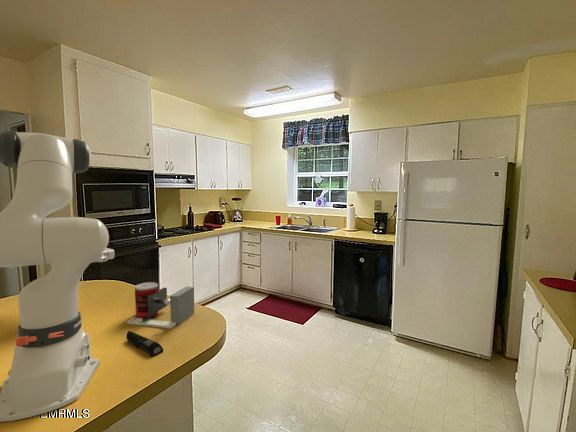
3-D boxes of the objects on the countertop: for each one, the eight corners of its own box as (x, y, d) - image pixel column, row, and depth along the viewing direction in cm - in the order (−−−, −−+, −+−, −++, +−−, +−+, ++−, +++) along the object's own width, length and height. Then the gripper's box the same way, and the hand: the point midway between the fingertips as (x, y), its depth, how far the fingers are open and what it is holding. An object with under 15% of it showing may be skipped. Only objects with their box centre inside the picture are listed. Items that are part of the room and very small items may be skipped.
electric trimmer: (135, 337, 92) (135, 327, 92) (164, 352, 83) (164, 341, 83) (123, 342, 89) (122, 332, 88) (152, 358, 80) (151, 347, 80)
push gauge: (127, 323, 101) (125, 295, 100) (152, 308, 113) (151, 283, 112) (173, 329, 96) (172, 299, 96) (194, 313, 109) (193, 287, 108)
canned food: (152, 308, 113) (151, 280, 112) (163, 313, 108) (162, 285, 107) (131, 314, 107) (130, 285, 106) (142, 320, 102) (140, 290, 101)
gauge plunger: (142, 321, 100) (141, 298, 99) (164, 307, 111) (163, 287, 111) (160, 323, 98) (159, 300, 97) (181, 309, 110) (180, 288, 109)
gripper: (47, 250, 102) (79, 254, 99) (98, 244, 122) (125, 247, 119) (46, 268, 102) (78, 273, 99) (97, 259, 122) (124, 263, 119)
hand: (104, 259), depth 109 cm, fingers closed
